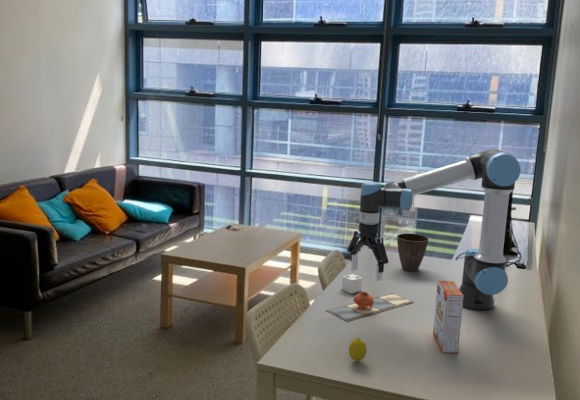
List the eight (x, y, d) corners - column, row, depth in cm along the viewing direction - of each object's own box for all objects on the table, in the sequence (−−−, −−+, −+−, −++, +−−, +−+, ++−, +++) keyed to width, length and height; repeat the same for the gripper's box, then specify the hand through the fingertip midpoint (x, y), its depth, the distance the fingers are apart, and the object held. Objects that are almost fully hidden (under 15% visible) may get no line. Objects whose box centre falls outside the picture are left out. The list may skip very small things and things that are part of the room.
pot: (372, 303, 231) (374, 289, 228) (372, 315, 224) (374, 300, 221) (352, 301, 231) (354, 287, 228) (352, 312, 224) (354, 298, 221)
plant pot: (393, 263, 287) (396, 232, 284) (424, 265, 285) (427, 234, 282) (395, 272, 273) (397, 240, 269) (426, 275, 271) (430, 242, 268)
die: (361, 291, 246) (362, 277, 245) (351, 293, 243) (352, 280, 242) (351, 286, 251) (352, 273, 250) (341, 289, 247) (342, 276, 246)
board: (413, 302, 236) (413, 301, 235) (346, 321, 214) (347, 320, 214) (392, 293, 245) (392, 292, 245) (326, 310, 223) (326, 309, 223)
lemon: (346, 357, 186) (348, 334, 184) (363, 357, 186) (365, 334, 184) (349, 365, 180) (351, 342, 179) (367, 365, 181) (368, 342, 179)
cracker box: (431, 335, 205) (437, 279, 201) (448, 335, 205) (454, 280, 201) (440, 353, 192) (446, 293, 187) (458, 354, 191) (464, 294, 187)
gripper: (340, 216, 227) (337, 268, 231) (385, 230, 208) (382, 286, 212) (354, 214, 231) (351, 264, 236) (400, 228, 212) (396, 282, 216)
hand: (366, 275), depth 224 cm, fingers open, 13 cm apart
